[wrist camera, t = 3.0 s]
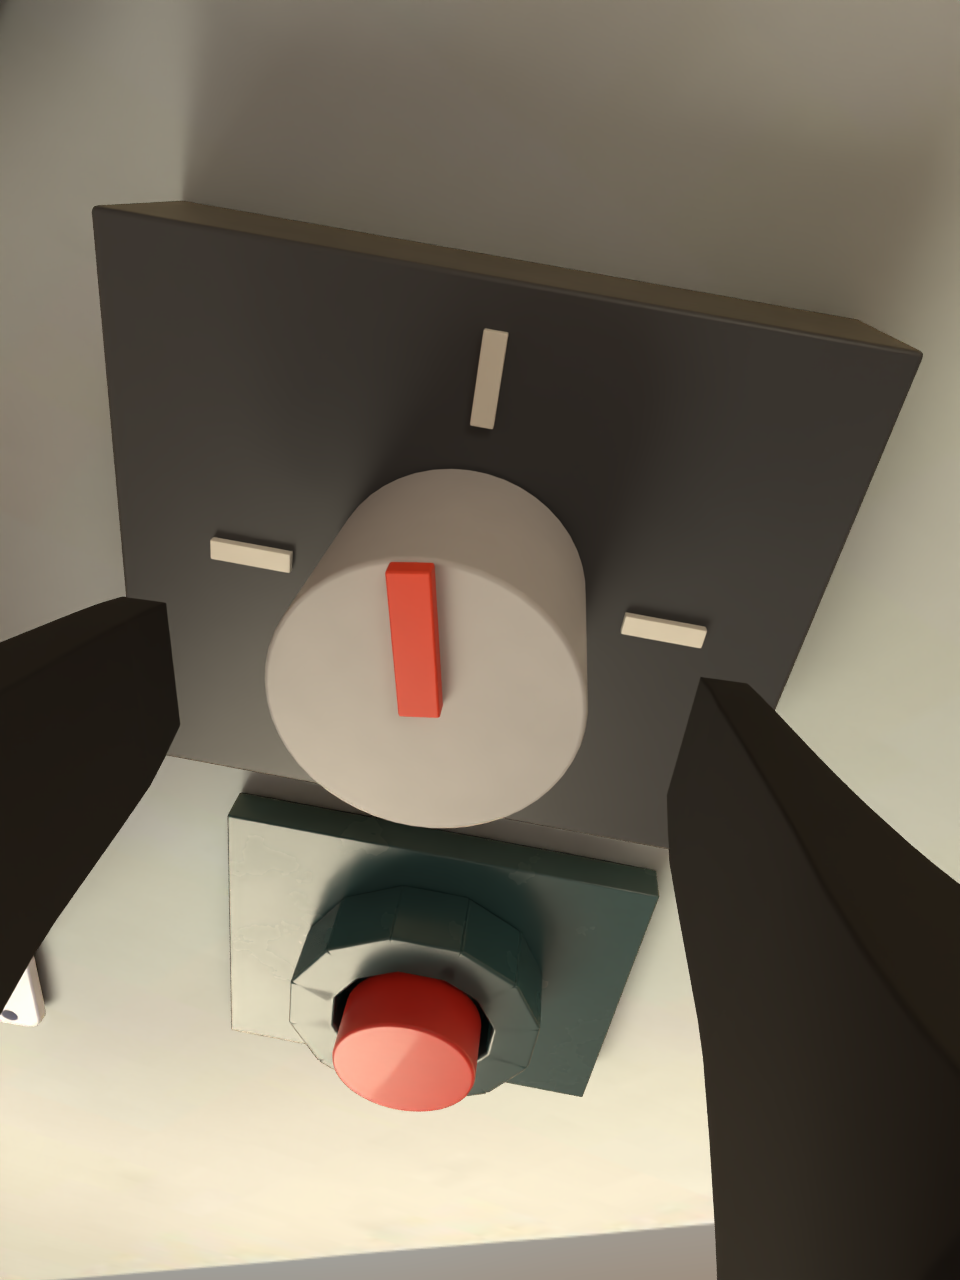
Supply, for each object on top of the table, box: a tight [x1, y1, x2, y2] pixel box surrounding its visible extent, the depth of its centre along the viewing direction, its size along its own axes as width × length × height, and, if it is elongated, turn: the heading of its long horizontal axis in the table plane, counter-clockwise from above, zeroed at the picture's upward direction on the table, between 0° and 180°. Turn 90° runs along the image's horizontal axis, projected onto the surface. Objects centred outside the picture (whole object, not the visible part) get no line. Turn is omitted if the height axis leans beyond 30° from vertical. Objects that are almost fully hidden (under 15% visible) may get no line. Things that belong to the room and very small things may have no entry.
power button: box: [332, 972, 481, 1111], centre depth 20 cm, size 4×4×2 cm
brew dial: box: [265, 469, 588, 828], centre depth 12 cm, size 4×4×4 cm
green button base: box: [228, 793, 659, 1097], centre depth 22 cm, size 11×9×3 cm
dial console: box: [92, 201, 923, 849], centre depth 15 cm, size 12×10×3 cm
